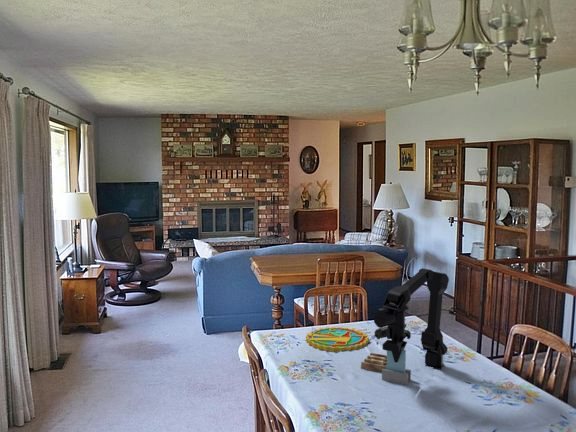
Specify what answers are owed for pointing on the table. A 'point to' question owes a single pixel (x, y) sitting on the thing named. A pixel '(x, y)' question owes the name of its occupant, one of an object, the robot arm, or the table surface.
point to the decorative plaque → (336, 339)
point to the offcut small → (377, 362)
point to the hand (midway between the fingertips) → (396, 361)
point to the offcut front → (377, 358)
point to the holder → (396, 376)
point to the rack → (374, 367)
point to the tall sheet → (398, 365)
